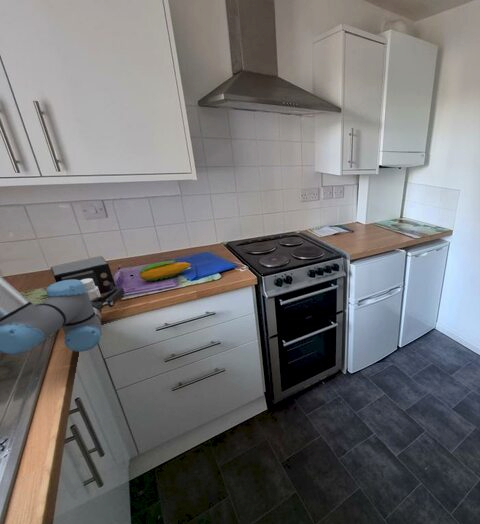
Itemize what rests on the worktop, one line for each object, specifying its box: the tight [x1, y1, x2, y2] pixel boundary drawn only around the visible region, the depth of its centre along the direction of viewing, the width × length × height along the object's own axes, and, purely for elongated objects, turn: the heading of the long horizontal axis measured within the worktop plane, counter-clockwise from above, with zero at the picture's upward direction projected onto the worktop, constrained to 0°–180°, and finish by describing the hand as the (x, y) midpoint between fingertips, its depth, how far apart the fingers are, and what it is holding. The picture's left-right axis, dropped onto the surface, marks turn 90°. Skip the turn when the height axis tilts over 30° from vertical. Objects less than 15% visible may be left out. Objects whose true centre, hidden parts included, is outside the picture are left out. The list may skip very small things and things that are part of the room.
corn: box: [139, 260, 192, 282], centre depth 133 cm, size 7×8×20 cm
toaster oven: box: [50, 255, 117, 295], centre depth 119 cm, size 13×16×12 cm
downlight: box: [80, 278, 102, 300], centre depth 110 cm, size 8×7×10 cm
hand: (89, 290), depth 109 cm, fingers open, 13 cm apart
